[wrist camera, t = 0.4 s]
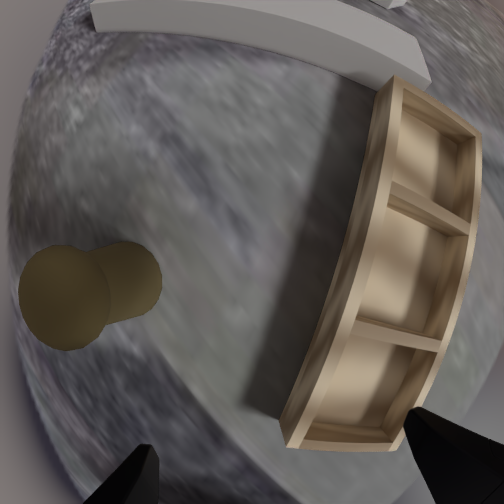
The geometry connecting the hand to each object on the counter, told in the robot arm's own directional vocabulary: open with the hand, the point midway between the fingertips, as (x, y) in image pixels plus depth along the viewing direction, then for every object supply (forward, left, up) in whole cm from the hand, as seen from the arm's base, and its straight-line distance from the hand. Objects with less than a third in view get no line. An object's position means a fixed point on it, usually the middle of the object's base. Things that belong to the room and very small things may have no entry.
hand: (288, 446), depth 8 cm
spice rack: (+5, -12, -14) cm, 19 cm away
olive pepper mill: (+3, +10, -14) cm, 18 cm away
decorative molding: (+30, +1, -15) cm, 34 cm away
